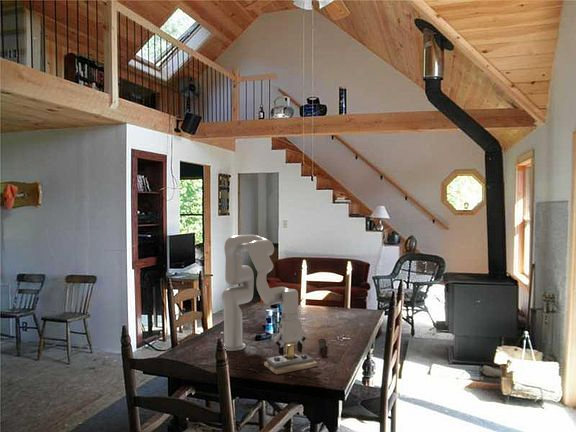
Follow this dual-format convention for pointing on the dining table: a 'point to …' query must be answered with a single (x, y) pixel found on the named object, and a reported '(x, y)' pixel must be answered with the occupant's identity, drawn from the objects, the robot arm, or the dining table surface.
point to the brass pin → (290, 351)
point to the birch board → (291, 367)
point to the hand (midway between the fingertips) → (290, 353)
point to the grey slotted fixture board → (288, 361)
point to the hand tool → (321, 346)
